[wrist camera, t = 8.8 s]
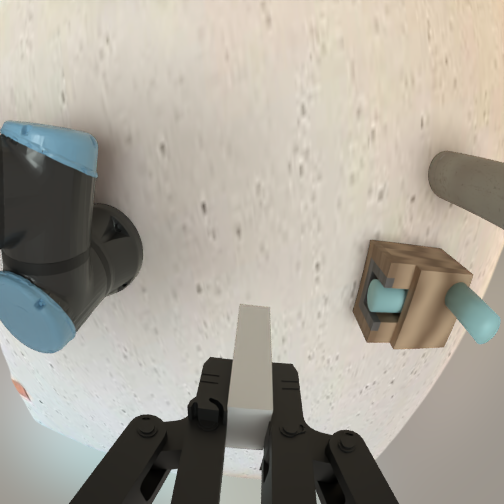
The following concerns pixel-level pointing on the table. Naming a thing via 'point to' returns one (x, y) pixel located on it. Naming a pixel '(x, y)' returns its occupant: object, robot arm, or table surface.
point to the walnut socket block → (410, 295)
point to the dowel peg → (385, 298)
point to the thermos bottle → (470, 184)
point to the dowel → (472, 312)
